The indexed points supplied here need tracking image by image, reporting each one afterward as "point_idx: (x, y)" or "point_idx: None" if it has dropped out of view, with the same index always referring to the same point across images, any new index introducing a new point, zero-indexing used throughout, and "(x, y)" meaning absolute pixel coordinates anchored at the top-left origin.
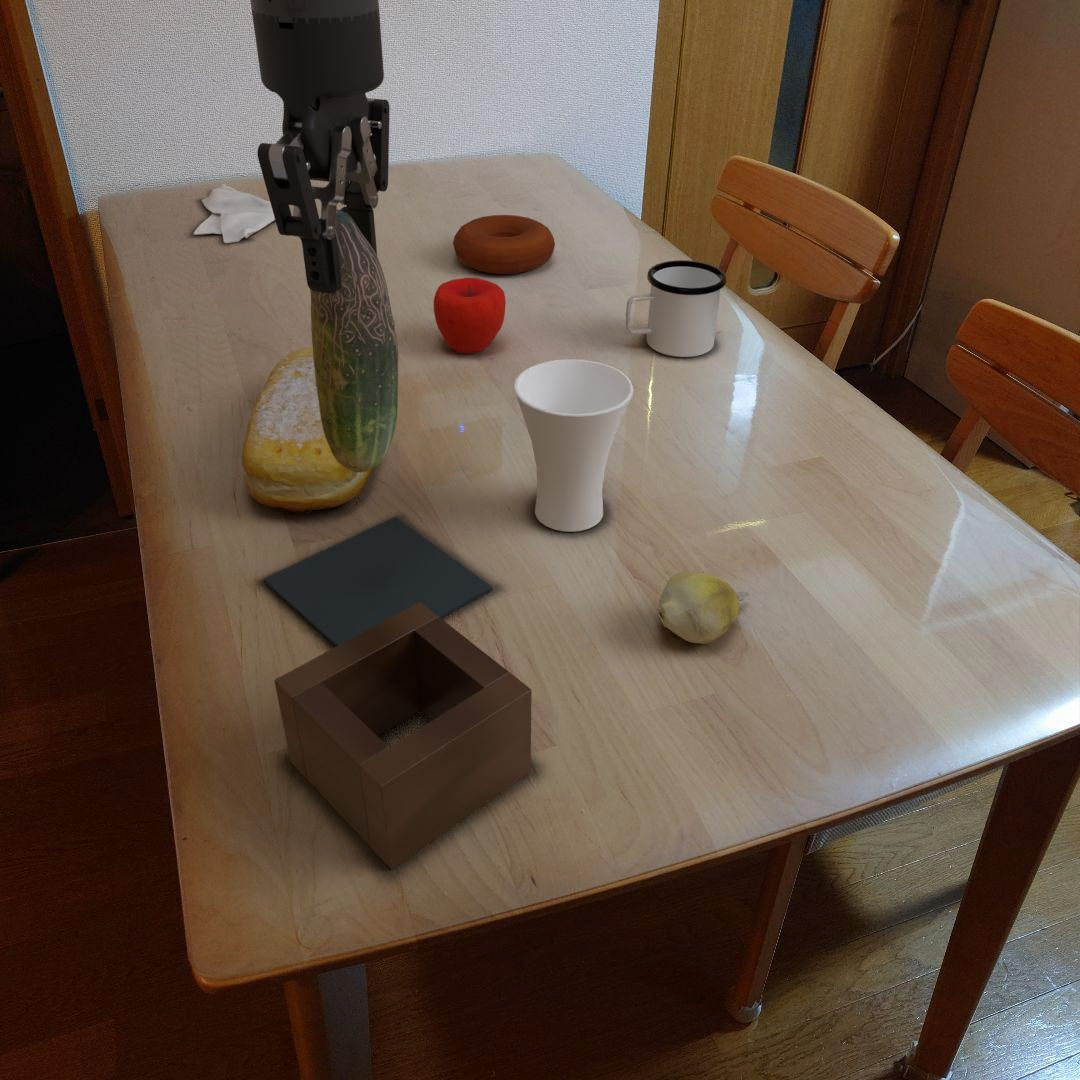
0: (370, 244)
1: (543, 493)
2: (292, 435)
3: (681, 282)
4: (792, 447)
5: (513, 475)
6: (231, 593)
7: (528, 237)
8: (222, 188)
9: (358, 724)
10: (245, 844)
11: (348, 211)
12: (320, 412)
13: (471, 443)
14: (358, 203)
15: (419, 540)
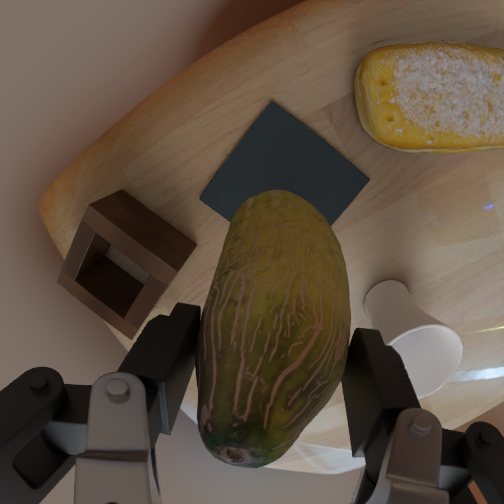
0: (346, 399)
1: (380, 300)
2: (405, 90)
3: None
4: (443, 400)
5: (432, 256)
6: (254, 83)
7: None
8: None
9: (79, 262)
10: (78, 189)
11: (371, 422)
12: (244, 204)
13: (471, 217)
14: (373, 455)
15: (341, 206)
